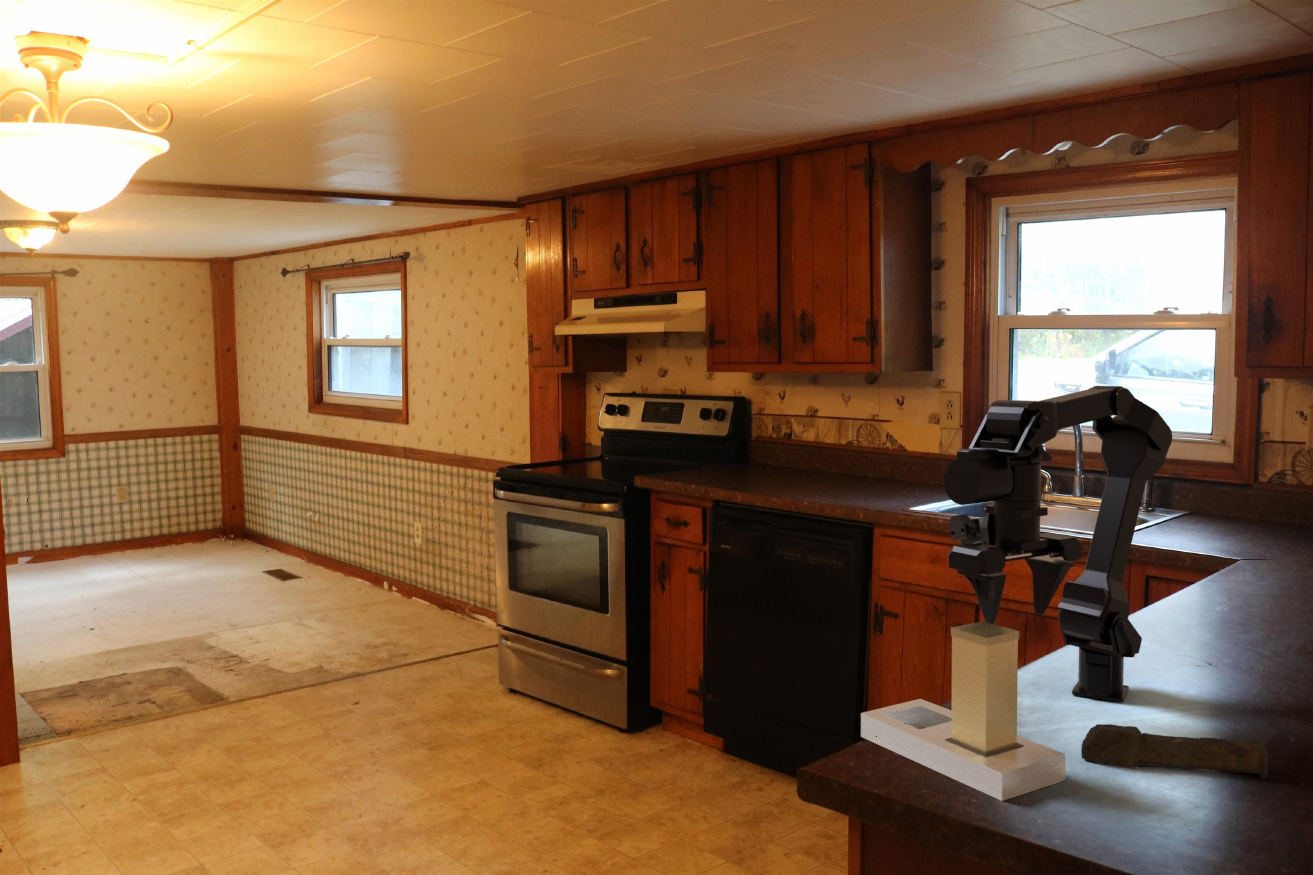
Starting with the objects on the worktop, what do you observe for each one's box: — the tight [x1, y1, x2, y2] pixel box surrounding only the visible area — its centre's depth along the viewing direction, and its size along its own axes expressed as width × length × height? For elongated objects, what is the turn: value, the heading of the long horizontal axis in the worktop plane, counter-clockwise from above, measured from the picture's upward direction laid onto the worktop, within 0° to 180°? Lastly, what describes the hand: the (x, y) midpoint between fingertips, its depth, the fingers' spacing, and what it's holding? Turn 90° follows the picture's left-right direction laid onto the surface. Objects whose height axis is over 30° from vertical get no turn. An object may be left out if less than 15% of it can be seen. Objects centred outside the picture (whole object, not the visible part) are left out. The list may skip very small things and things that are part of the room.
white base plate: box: [860, 698, 1066, 802], centre depth 120 cm, size 10×22×3 cm, turn 30°
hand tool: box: [1080, 723, 1269, 779], centre depth 117 cm, size 19×4×5 cm, turn 74°
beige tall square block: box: [950, 620, 1020, 754], centre depth 116 cm, size 5×5×13 cm
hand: (1015, 619), depth 132 cm, fingers open, 9 cm apart
